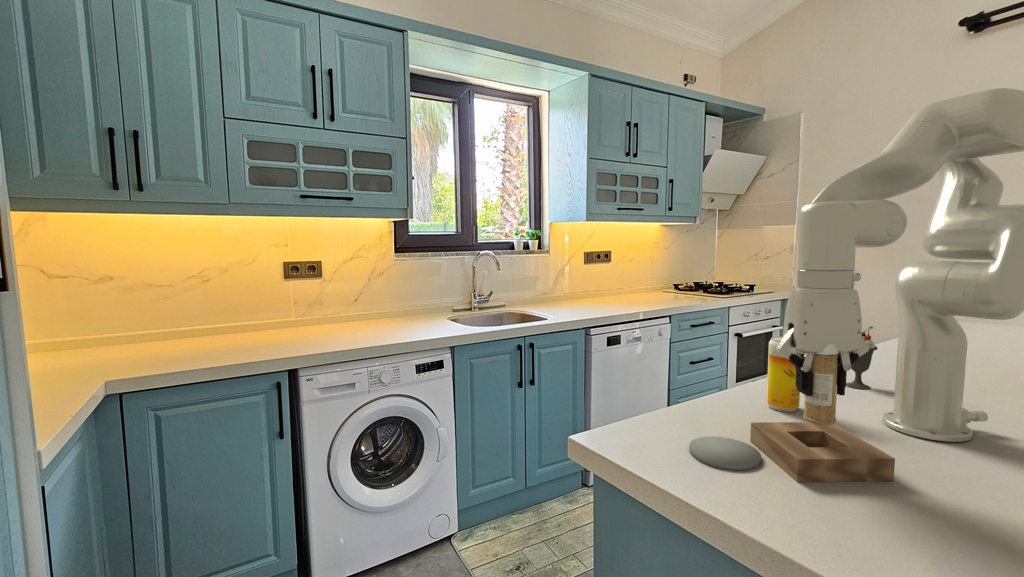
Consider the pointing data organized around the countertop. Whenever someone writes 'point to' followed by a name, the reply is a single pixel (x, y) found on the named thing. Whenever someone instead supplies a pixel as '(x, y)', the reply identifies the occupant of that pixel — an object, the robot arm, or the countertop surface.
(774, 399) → the beer can
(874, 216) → the robot arm
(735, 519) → the countertop surface
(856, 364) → the sundae
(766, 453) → the walnut pocket block
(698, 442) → the slate coaster
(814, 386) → the sprinkles bottle
